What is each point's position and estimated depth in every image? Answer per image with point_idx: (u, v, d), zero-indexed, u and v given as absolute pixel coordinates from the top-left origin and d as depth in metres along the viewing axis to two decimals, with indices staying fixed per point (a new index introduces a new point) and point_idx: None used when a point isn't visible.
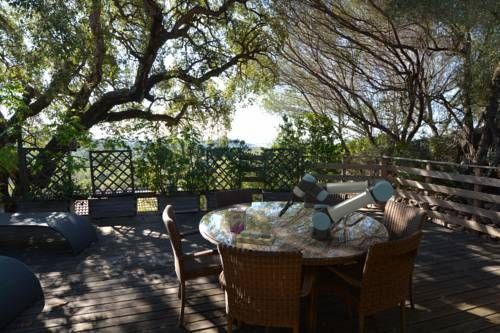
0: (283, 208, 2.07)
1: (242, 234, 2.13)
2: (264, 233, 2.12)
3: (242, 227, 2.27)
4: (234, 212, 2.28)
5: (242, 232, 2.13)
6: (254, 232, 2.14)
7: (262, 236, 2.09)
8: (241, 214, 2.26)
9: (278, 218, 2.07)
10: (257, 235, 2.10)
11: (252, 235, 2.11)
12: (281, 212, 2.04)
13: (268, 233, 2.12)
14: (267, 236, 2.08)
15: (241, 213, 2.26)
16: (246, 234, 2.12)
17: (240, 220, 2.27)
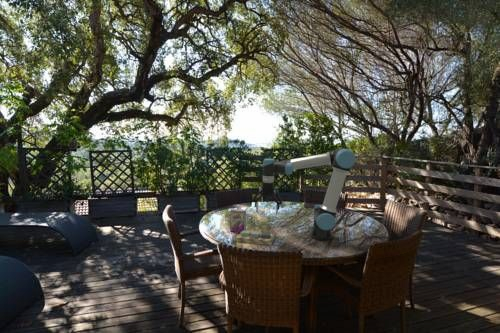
0: (275, 201, 2.06)
1: (242, 234, 2.13)
2: (264, 233, 2.12)
3: (242, 227, 2.27)
4: (234, 212, 2.28)
5: (242, 232, 2.13)
6: (254, 232, 2.14)
7: (262, 236, 2.09)
8: (241, 214, 2.26)
9: (277, 211, 2.08)
10: (257, 235, 2.10)
11: (252, 235, 2.11)
12: None
13: (268, 233, 2.12)
14: (267, 236, 2.08)
15: (241, 213, 2.26)
16: (246, 234, 2.12)
17: (240, 220, 2.27)
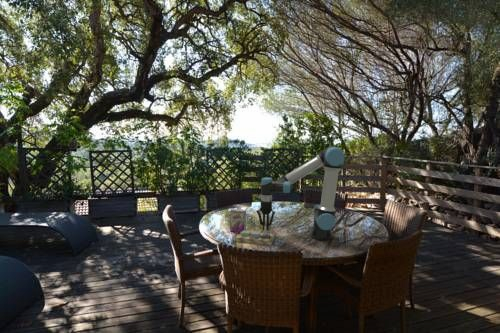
0: None
1: (242, 234, 2.13)
2: None
3: (242, 227, 2.27)
4: (234, 212, 2.28)
5: (242, 232, 2.13)
6: (254, 232, 2.14)
7: None
8: (241, 214, 2.26)
9: (266, 232, 2.11)
10: (257, 235, 2.10)
11: (252, 235, 2.11)
12: (269, 225, 2.09)
13: (268, 235, 2.12)
14: (267, 238, 2.08)
15: (241, 213, 2.26)
16: (246, 234, 2.12)
17: (240, 220, 2.27)
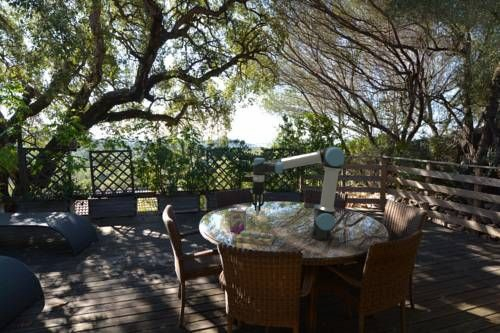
0: None
1: (242, 234, 2.13)
2: (264, 235, 2.12)
3: (242, 227, 2.27)
4: (234, 212, 2.28)
5: (242, 232, 2.13)
6: (254, 232, 2.14)
7: None
8: (241, 214, 2.26)
9: (258, 212, 2.11)
10: (257, 235, 2.10)
11: (252, 235, 2.11)
12: None
13: (268, 235, 2.12)
14: (267, 238, 2.08)
15: (241, 213, 2.26)
16: (246, 234, 2.12)
17: (240, 220, 2.27)
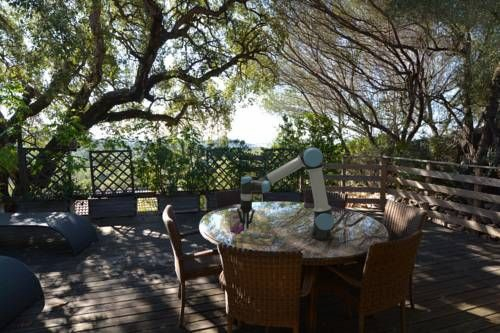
0: (246, 219, 2.12)
1: None
2: (264, 235, 2.12)
3: (242, 227, 2.27)
4: (234, 212, 2.28)
5: (242, 234, 2.13)
6: (254, 232, 2.14)
7: None
8: (241, 214, 2.26)
9: (246, 230, 2.15)
10: (257, 235, 2.10)
11: (252, 235, 2.11)
12: (249, 223, 2.13)
13: (268, 235, 2.12)
14: (267, 238, 2.08)
15: (241, 213, 2.26)
16: (246, 236, 2.12)
17: None
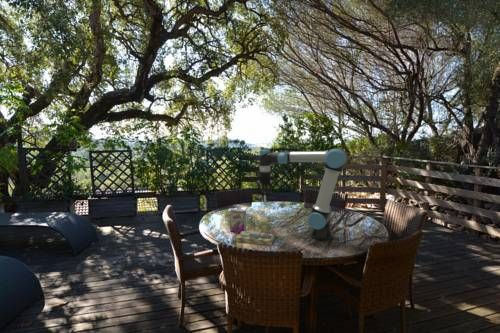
0: (266, 191, 2.20)
1: None
2: (264, 235, 2.12)
3: (242, 227, 2.27)
4: (234, 212, 2.28)
5: (242, 234, 2.13)
6: (254, 232, 2.14)
7: None
8: (241, 214, 2.26)
9: (266, 201, 2.22)
10: (257, 235, 2.10)
11: (252, 235, 2.11)
12: None
13: (268, 235, 2.12)
14: (267, 238, 2.08)
15: (241, 213, 2.26)
16: (246, 236, 2.12)
17: (240, 220, 2.27)
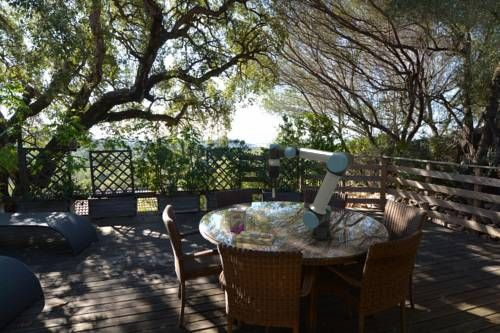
0: (274, 184, 2.25)
1: None
2: (264, 235, 2.12)
3: (242, 227, 2.27)
4: (234, 212, 2.28)
5: (242, 234, 2.13)
6: (254, 232, 2.14)
7: None
8: (241, 214, 2.26)
9: (274, 194, 2.28)
10: (257, 235, 2.10)
11: (252, 235, 2.11)
12: None
13: (268, 235, 2.12)
14: (267, 238, 2.08)
15: (241, 213, 2.26)
16: (246, 236, 2.12)
17: (240, 220, 2.27)
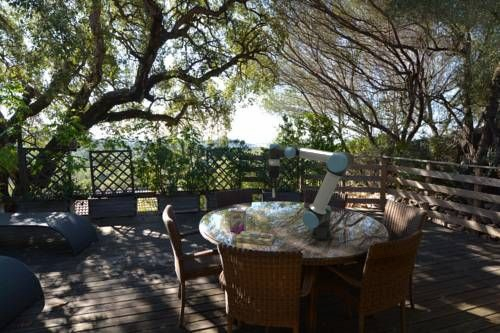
0: (274, 184, 2.25)
1: None
2: (264, 235, 2.12)
3: (242, 227, 2.27)
4: (234, 212, 2.28)
5: (242, 234, 2.13)
6: (254, 232, 2.14)
7: None
8: (241, 214, 2.26)
9: (274, 194, 2.28)
10: (257, 235, 2.10)
11: (252, 235, 2.11)
12: None
13: (268, 235, 2.12)
14: (267, 238, 2.08)
15: (241, 213, 2.26)
16: (246, 236, 2.12)
17: (240, 220, 2.27)
